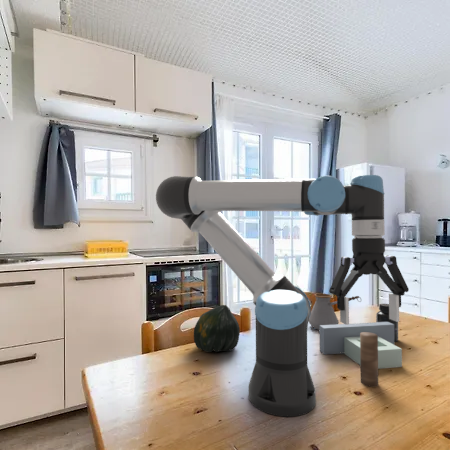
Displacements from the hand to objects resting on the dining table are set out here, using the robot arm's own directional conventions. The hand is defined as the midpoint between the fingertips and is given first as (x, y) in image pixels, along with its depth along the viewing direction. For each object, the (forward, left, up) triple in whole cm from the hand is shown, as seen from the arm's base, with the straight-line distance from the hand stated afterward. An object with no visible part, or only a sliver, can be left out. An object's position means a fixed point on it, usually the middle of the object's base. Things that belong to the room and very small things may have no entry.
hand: (369, 321), depth 77 cm
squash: (-35, +28, -16) cm, 48 cm away
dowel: (0, 0, -15) cm, 15 cm away
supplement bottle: (+25, +27, -16) cm, 40 cm away
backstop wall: (+9, +20, -15) cm, 27 cm away
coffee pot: (+11, +38, -16) cm, 43 cm away
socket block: (+9, +12, -15) cm, 22 cm away
